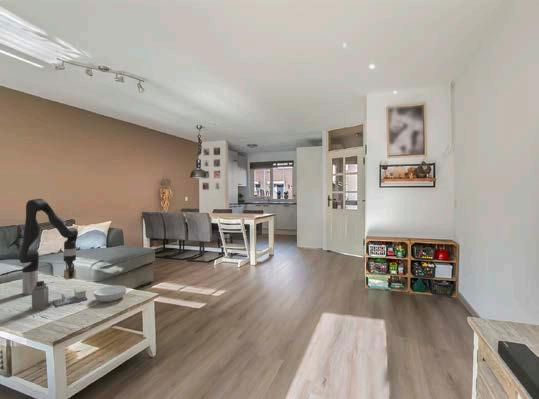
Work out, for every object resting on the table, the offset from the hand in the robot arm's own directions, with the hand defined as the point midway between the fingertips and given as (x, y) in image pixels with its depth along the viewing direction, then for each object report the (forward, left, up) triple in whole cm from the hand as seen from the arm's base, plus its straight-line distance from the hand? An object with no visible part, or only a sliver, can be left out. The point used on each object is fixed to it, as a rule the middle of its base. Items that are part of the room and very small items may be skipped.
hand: (69, 276), depth 208 cm
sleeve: (0, 0, -1) cm, 1 cm away
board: (+11, -2, -15) cm, 19 cm away
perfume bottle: (+12, -19, -15) cm, 27 cm away
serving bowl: (+28, +19, -15) cm, 37 cm away
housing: (+11, +4, -13) cm, 18 cm away
